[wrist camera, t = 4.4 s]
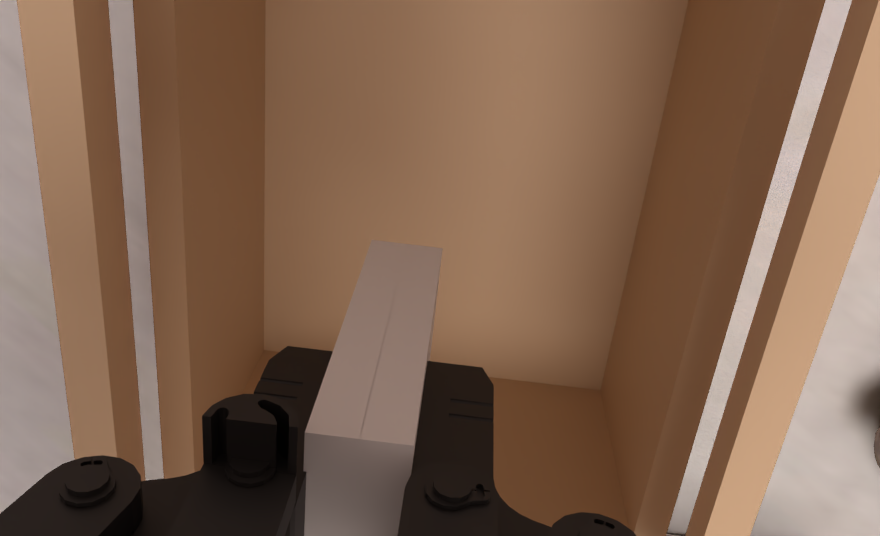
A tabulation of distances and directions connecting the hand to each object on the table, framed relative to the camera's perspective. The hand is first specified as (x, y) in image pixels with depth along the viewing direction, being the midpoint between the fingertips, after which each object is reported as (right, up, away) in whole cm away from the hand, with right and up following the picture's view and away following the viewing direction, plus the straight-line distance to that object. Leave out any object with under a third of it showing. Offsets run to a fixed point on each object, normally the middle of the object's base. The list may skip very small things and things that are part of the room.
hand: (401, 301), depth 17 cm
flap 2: (+10, +1, +3) cm, 10 cm away
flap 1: (-8, +3, +4) cm, 9 cm away
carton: (+2, +6, +12) cm, 13 cm away
